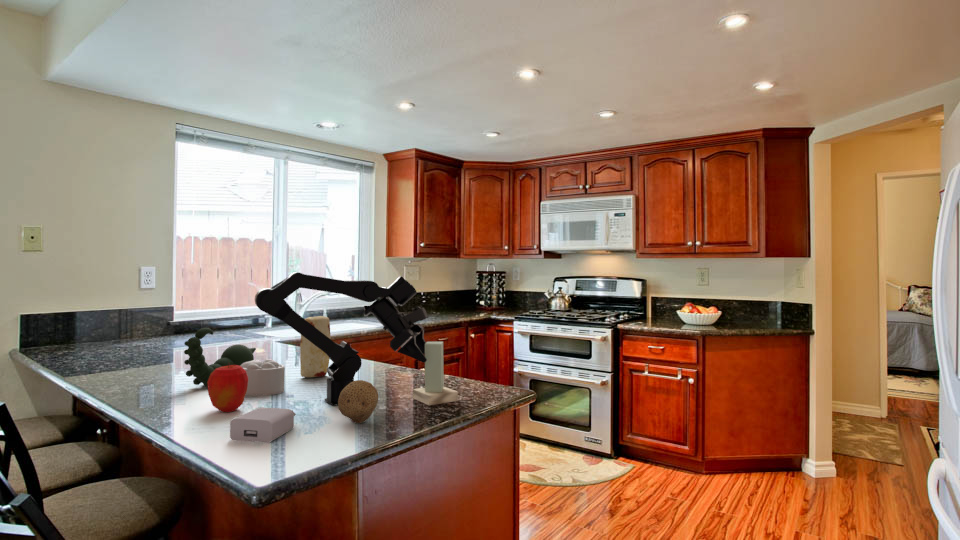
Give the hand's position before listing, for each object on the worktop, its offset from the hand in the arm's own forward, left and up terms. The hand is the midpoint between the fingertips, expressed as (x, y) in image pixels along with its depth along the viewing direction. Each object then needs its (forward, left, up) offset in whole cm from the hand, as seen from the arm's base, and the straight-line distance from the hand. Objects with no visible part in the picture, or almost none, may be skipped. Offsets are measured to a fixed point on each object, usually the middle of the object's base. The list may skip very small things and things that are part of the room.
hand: (428, 358), depth 140 cm
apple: (-47, +17, -11) cm, 51 cm away
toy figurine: (-42, +51, -11) cm, 67 cm away
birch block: (+2, -1, -12) cm, 12 cm away
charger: (-42, -4, -12) cm, 44 cm away
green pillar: (+1, -1, -9) cm, 9 cm away
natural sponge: (-25, -11, -11) cm, 29 cm away
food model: (-16, +45, -11) cm, 49 cm away
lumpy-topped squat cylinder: (-35, +34, -11) cm, 50 cm away
